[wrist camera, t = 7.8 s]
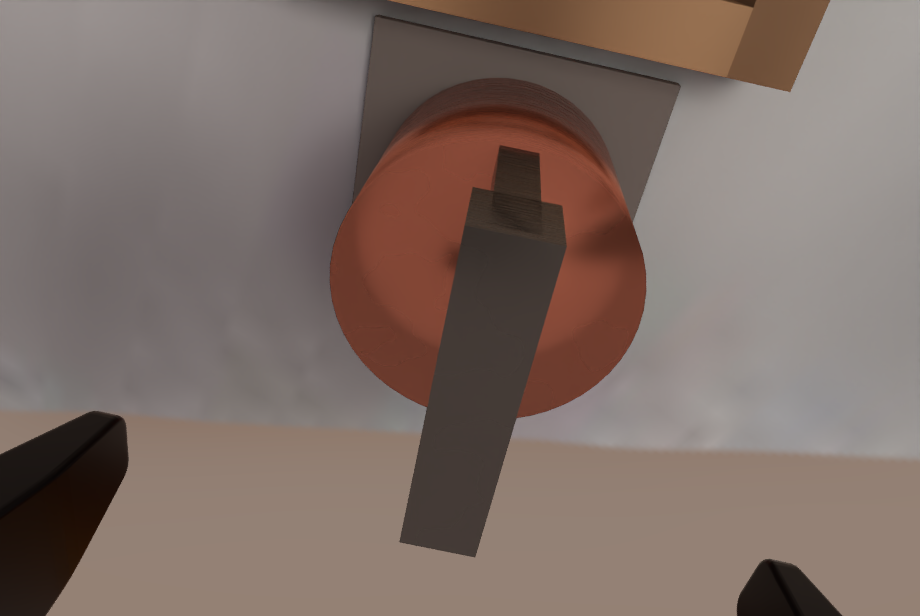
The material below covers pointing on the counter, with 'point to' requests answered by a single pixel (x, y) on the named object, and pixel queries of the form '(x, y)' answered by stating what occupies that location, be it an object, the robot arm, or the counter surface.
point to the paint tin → (486, 283)
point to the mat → (471, 58)
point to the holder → (669, 30)
